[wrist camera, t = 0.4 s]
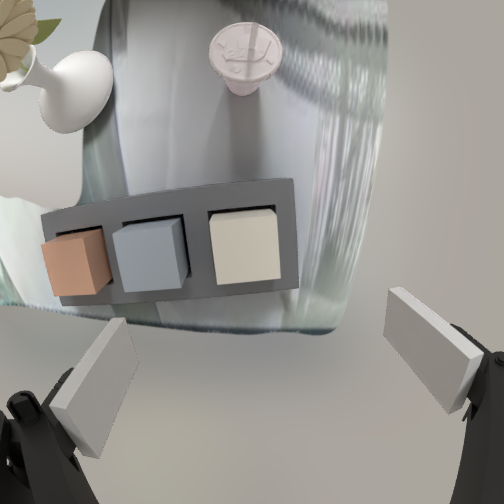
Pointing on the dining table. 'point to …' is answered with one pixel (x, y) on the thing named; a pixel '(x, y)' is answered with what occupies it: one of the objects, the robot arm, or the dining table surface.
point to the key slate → (151, 255)
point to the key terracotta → (77, 263)
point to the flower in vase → (51, 70)
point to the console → (197, 233)
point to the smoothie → (245, 56)
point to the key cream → (245, 246)
